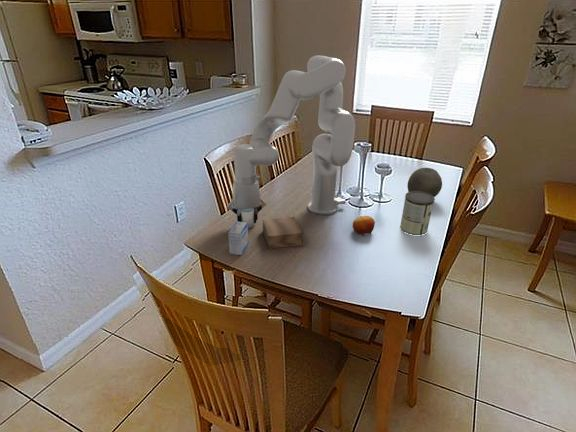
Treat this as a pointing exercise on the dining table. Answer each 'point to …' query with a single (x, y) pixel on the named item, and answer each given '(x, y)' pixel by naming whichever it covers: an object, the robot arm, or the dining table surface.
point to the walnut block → (282, 232)
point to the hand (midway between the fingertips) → (247, 222)
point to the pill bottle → (248, 216)
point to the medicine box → (238, 238)
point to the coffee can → (416, 212)
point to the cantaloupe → (425, 181)
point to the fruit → (363, 225)
